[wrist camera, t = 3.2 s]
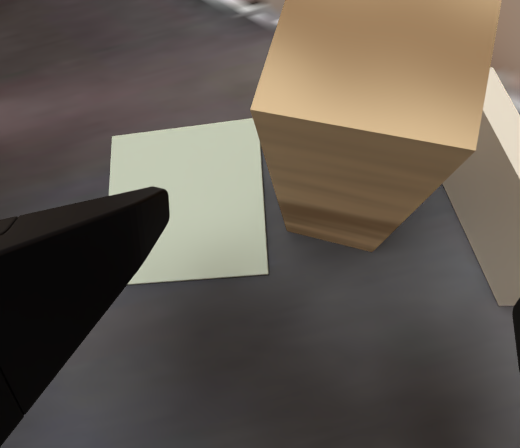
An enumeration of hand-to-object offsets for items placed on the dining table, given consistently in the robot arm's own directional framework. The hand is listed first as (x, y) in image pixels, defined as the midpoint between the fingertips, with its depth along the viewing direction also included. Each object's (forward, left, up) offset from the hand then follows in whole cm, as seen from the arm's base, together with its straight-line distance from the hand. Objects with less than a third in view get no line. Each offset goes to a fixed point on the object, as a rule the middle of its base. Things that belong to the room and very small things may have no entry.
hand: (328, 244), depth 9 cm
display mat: (+7, +6, -11) cm, 15 cm away
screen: (+1, -9, -11) cm, 15 cm away
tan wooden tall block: (+4, -3, -11) cm, 13 cm away
